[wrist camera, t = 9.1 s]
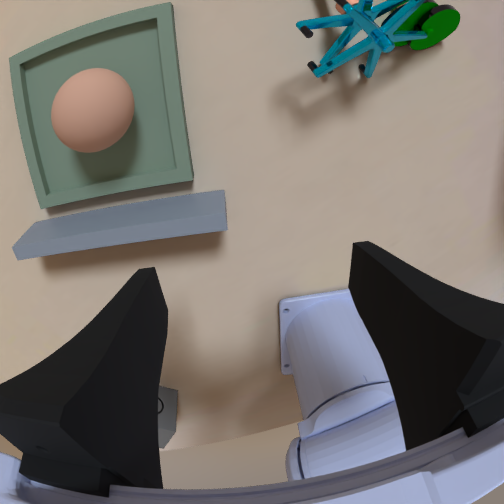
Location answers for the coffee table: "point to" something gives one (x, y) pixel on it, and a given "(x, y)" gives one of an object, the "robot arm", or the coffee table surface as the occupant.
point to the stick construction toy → (381, 30)
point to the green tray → (145, 110)
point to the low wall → (125, 224)
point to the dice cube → (166, 414)
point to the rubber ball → (92, 110)
